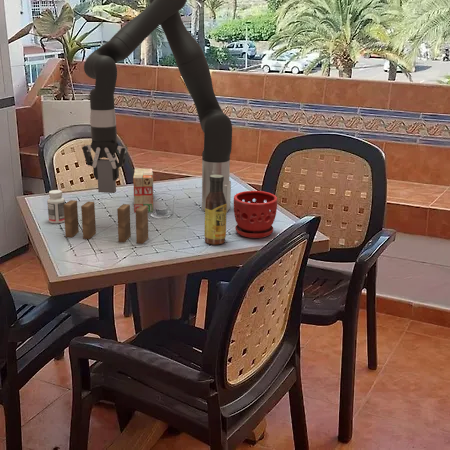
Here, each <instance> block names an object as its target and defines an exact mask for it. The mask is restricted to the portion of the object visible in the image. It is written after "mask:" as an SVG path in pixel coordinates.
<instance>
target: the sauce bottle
mask: <svg viewBox="0 0 450 450" xmlns="http://www.w3.org/2000/svg"><path fill="white" fill-rule="evenodd" d="M223 181H224V176H223V175H210V192H209V194H208V196H207V197H206V207H205V211H204V235H203V236H204V241H205V243H206V244H208V245H212V246H214V245H215V246H216V245H222V244H224V243H225V241H226V236H227V232H226V231H227V213H228V212H227V202H226V199H225V196H224V193H223Z"/></svg>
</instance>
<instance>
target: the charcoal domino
mask: <svg viewBox="0 0 450 450" xmlns="http://www.w3.org/2000/svg"><path fill="white" fill-rule="evenodd" d="M112 169H113V167H112V164H111V162H110V161H109V159H108V158H101V159H100V160H98V162H97V173H98V180H97V188H98V189H97V190H98V193H103V194H115V193H116V192H117V184H116V183H117V180H116V181H114V180H113V173H112Z"/></svg>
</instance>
